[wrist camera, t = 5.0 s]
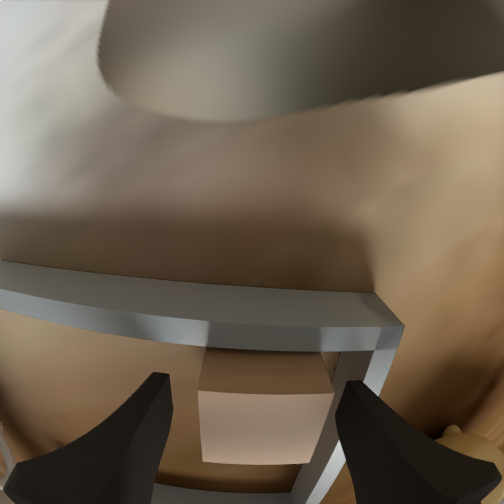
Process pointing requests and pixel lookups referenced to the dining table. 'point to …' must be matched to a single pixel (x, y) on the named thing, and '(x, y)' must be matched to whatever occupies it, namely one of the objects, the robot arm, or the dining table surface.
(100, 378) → the dining table surface
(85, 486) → the robot arm
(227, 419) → the walnut block
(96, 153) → the dining table surface
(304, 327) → the gray open frame
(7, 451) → the teacup
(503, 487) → the yellow lumpy rounded piece
